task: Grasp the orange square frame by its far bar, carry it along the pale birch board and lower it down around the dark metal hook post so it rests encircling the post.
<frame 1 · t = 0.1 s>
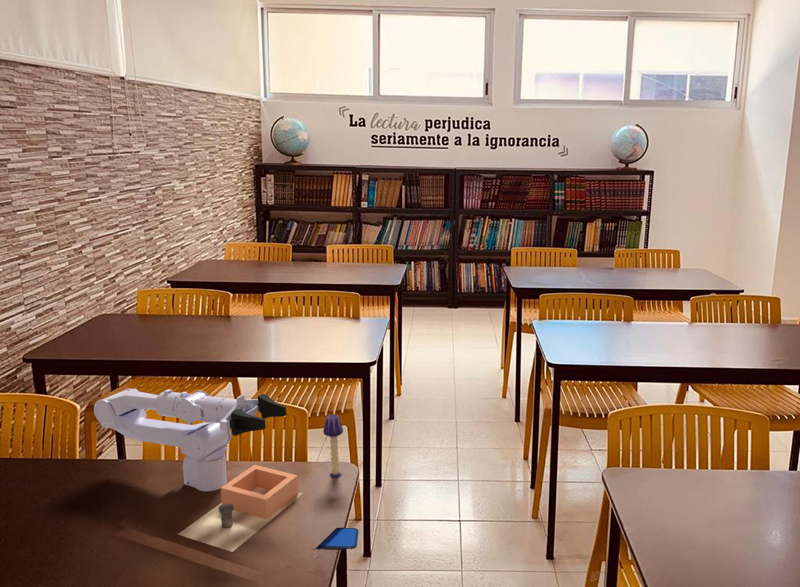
hand: (275, 417, 148), 22 cm above the table, tool horizontal, fingers open, 7 cm apart
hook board: (244, 518, 148), on the table
smartphone: (321, 541, 141), on the table
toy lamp: (334, 481, 165), on the table
orange square frame: (260, 499, 153), point 1 cm above the table, touching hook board
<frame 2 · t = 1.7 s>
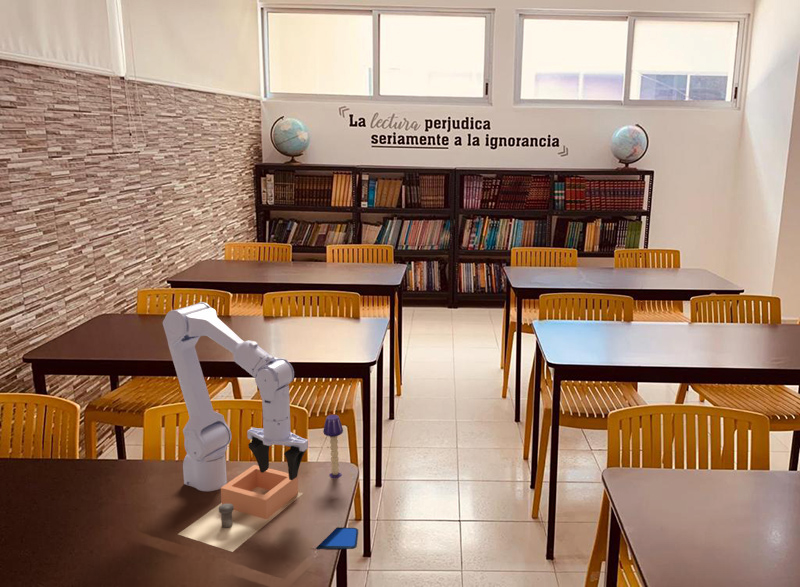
hand: (278, 474, 149), 9 cm above the table, tool pointing down, fingers open, 7 cm apart
nothing on the table moved.
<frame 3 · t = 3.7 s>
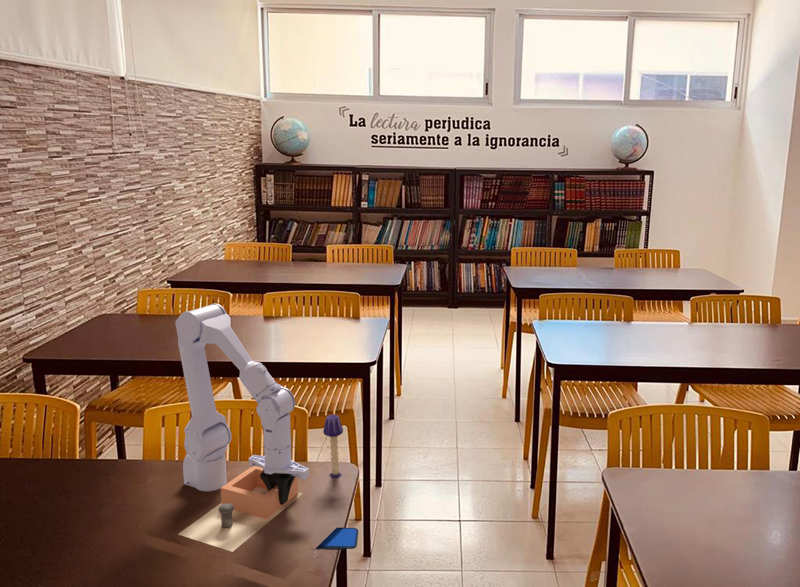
hand: (279, 501, 151), 2 cm above the table, tool pointing down, fingers closed on orange square frame, 2 cm apart
orange square frame: (260, 499, 153), point 1 cm above the table, touching gripper, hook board
everything else where it was.
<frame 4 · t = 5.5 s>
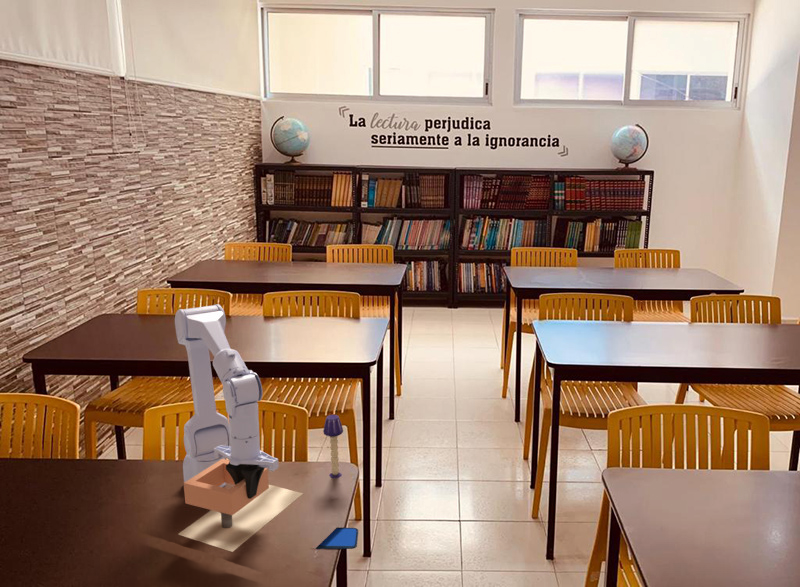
hand: (247, 495, 139), 9 cm above the table, tool pointing down, fingers closed on orange square frame
orange square frame: (228, 495, 142), point 8 cm above the table, touching gripper
everything else where it was.
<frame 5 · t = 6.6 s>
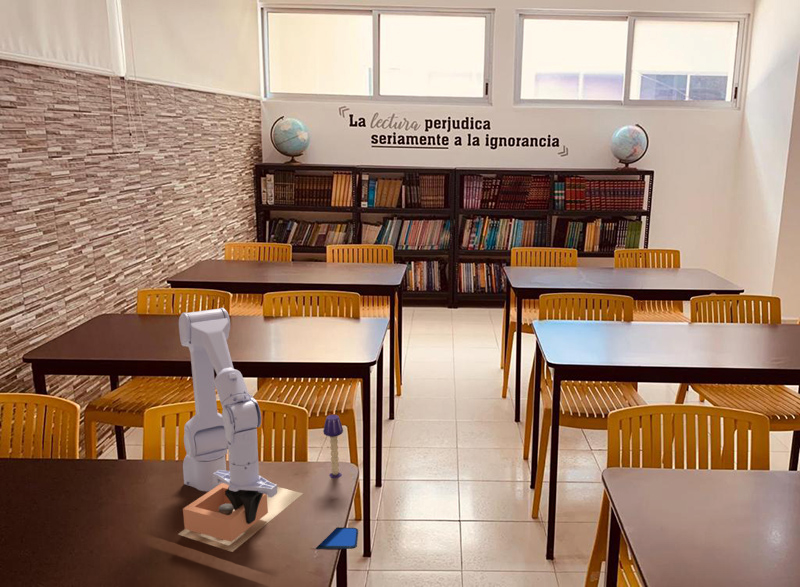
hand: (246, 520, 140), 4 cm above the table, tool pointing down, fingers closed on orange square frame, 2 cm apart
orange square frame: (227, 520, 142), point 3 cm above the table, touching gripper
everything else where it was.
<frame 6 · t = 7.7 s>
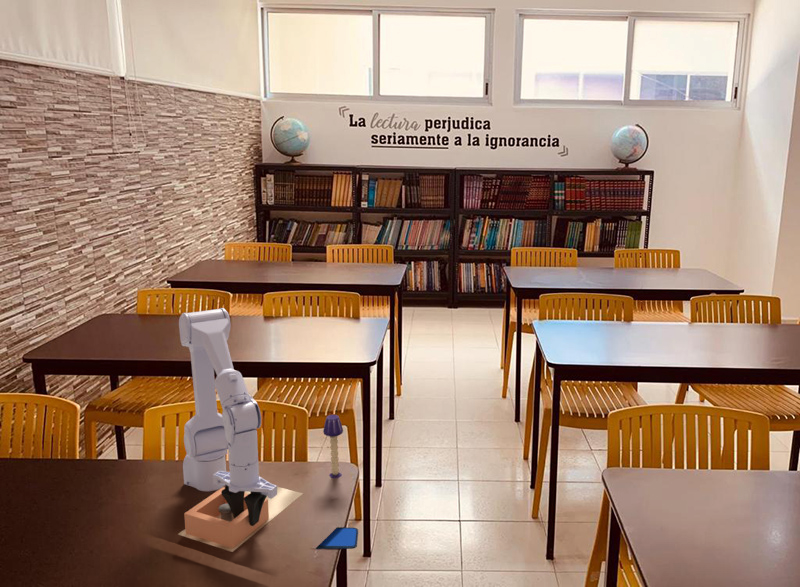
hand: (246, 520, 140), 4 cm above the table, tool pointing down, fingers open, 3 cm apart
orange square frame: (228, 525, 143), point 1 cm above the table, touching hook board
everything else where it was.
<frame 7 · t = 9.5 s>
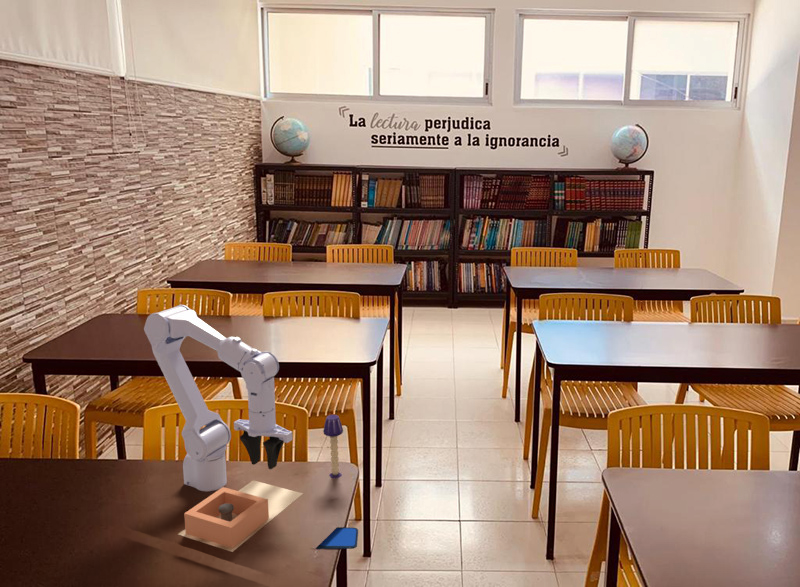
hand: (264, 465, 152), 9 cm above the table, tool pointing down, fingers open, 4 cm apart
nothing on the table moved.
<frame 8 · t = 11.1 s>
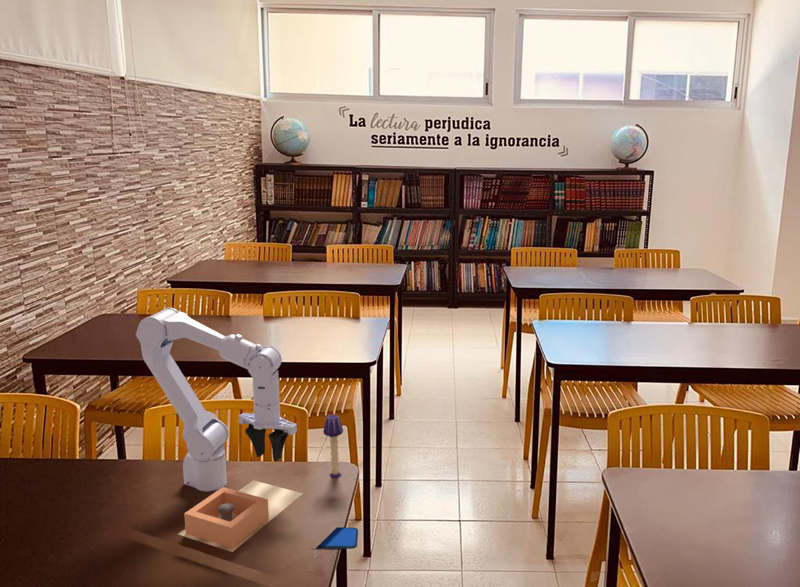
hand: (268, 457, 156), 9 cm above the table, tool pointing down, fingers open, 4 cm apart
nothing on the table moved.
at the end: orange square frame 0.3 cm from the target spot on the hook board, point 1.5 cm above the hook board's base; orange square frame touching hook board; the gripper is holding nothing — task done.
